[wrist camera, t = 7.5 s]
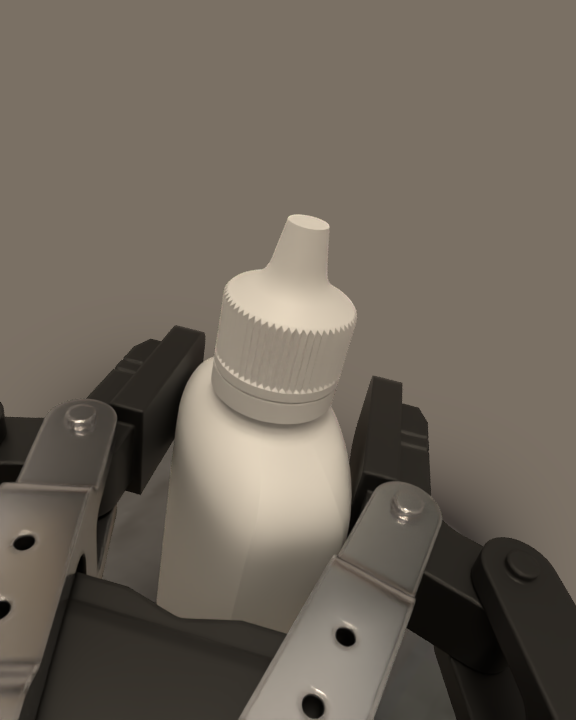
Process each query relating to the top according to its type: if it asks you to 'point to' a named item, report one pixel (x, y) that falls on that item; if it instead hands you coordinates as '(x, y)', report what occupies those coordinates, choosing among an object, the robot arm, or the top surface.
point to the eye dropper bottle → (262, 445)
